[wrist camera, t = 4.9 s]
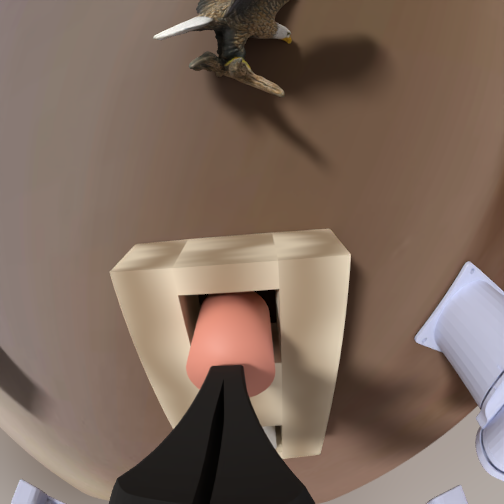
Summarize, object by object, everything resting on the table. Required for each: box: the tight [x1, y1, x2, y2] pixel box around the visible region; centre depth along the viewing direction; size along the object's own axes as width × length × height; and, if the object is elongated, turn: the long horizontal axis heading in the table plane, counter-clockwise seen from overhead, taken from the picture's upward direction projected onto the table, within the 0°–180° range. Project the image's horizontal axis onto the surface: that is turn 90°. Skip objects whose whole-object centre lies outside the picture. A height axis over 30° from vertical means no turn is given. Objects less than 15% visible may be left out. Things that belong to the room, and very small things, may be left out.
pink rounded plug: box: [186, 291, 275, 398], centre depth 14 cm, size 4×4×4 cm
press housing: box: [110, 229, 351, 459], centre depth 19 cm, size 12×20×4 cm, turn 5°
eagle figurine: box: [153, 0, 292, 97], centre depth 9 cm, size 8×7×9 cm
